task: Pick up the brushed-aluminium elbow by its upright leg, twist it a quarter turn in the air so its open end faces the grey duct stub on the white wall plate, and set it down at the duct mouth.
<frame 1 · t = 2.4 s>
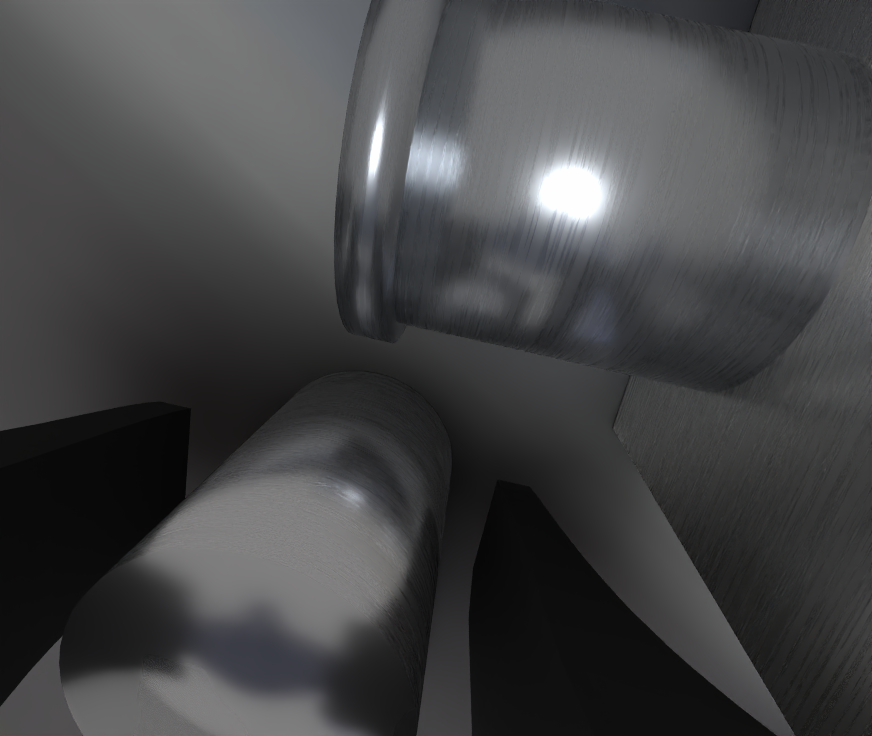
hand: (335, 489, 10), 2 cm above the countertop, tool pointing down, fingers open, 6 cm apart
elbow: (361, 457, 11), on the countertop
duct stub: (680, 231, 9), on the countertop
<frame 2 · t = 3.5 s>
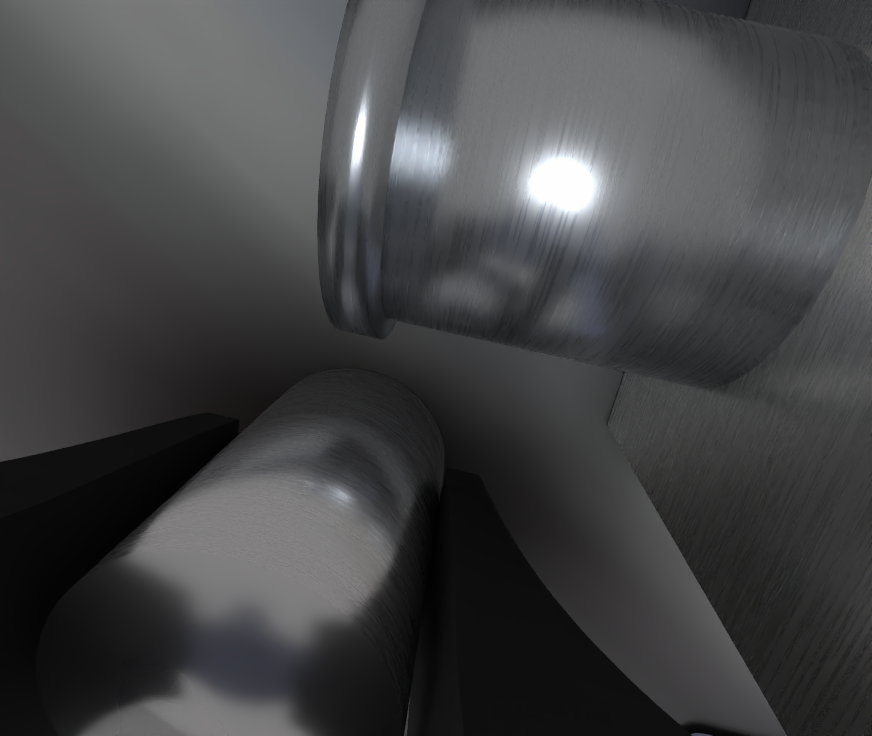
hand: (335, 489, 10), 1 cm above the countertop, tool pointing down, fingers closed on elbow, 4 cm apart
elbow: (353, 455, 11), on the countertop, touching gripper
duct stub: (674, 225, 9), on the countertop
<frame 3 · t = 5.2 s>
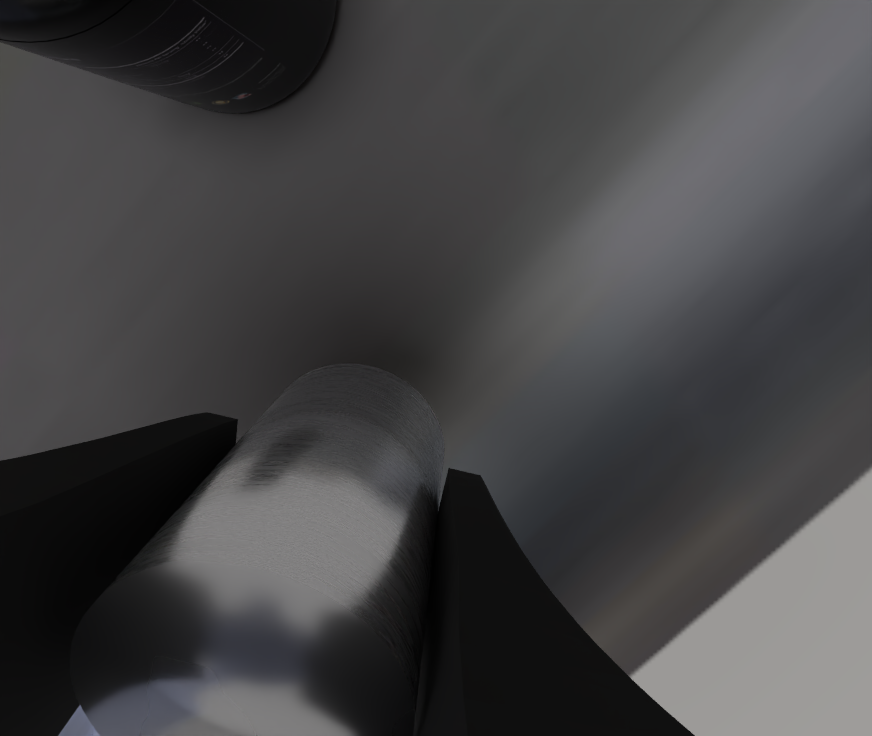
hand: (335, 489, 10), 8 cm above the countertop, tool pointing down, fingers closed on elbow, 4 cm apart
elbow: (355, 446, 11), point 7 cm above the countertop, touching gripper
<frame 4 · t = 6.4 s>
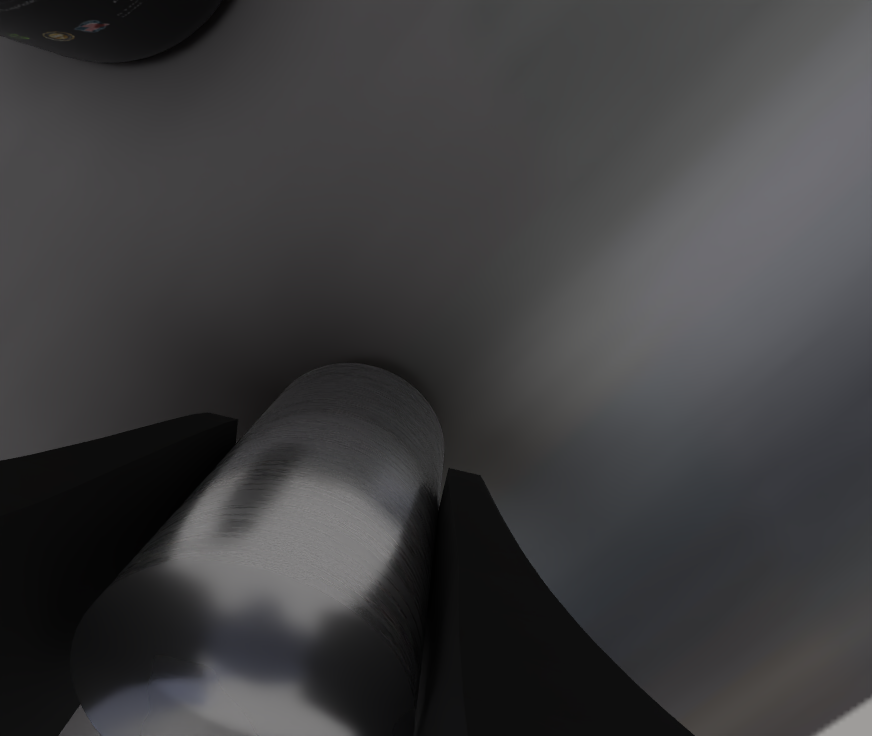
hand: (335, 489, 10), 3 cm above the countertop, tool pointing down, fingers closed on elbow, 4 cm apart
elbow: (355, 446, 11), point 1 cm above the countertop, touching gripper
when the fingers open (3 cm above the countertop, at t = 7.1 s): elbow drops 1 cm, on the countertop.
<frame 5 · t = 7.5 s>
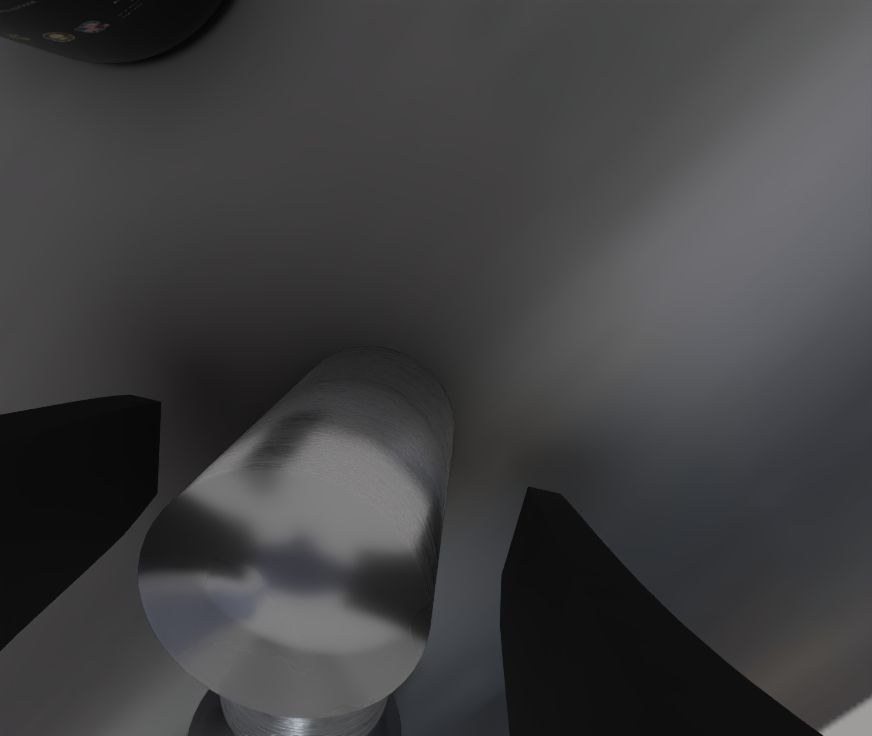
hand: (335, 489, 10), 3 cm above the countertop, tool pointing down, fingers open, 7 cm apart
elbow: (372, 425, 13), on the countertop
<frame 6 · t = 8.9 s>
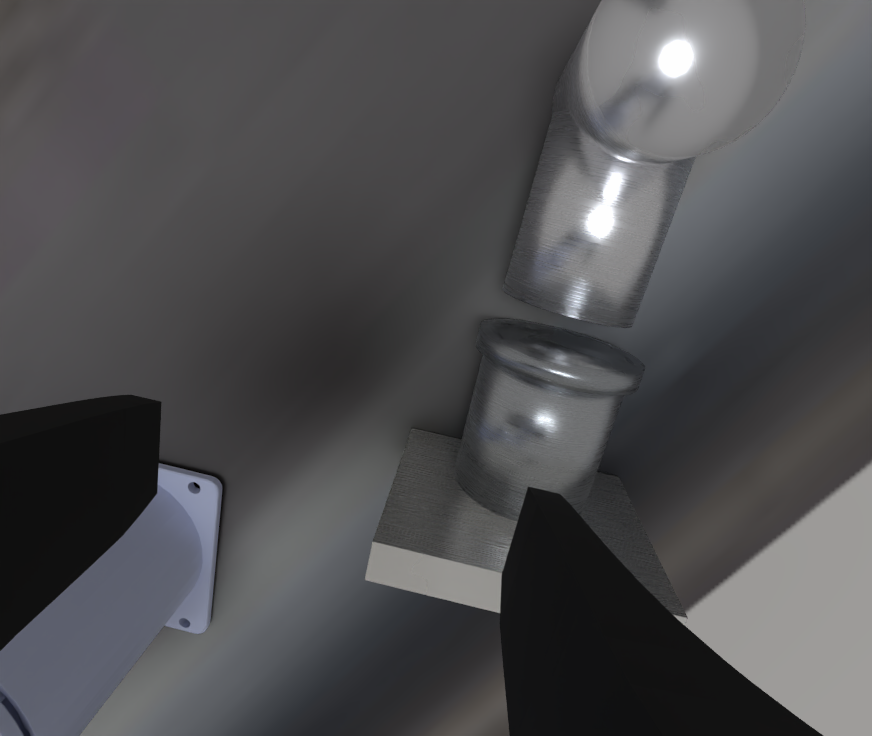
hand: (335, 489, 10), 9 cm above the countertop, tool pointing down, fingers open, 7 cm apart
elbow: (618, 105, 16), on the countertop
duct stub: (514, 452, 19), on the countertop
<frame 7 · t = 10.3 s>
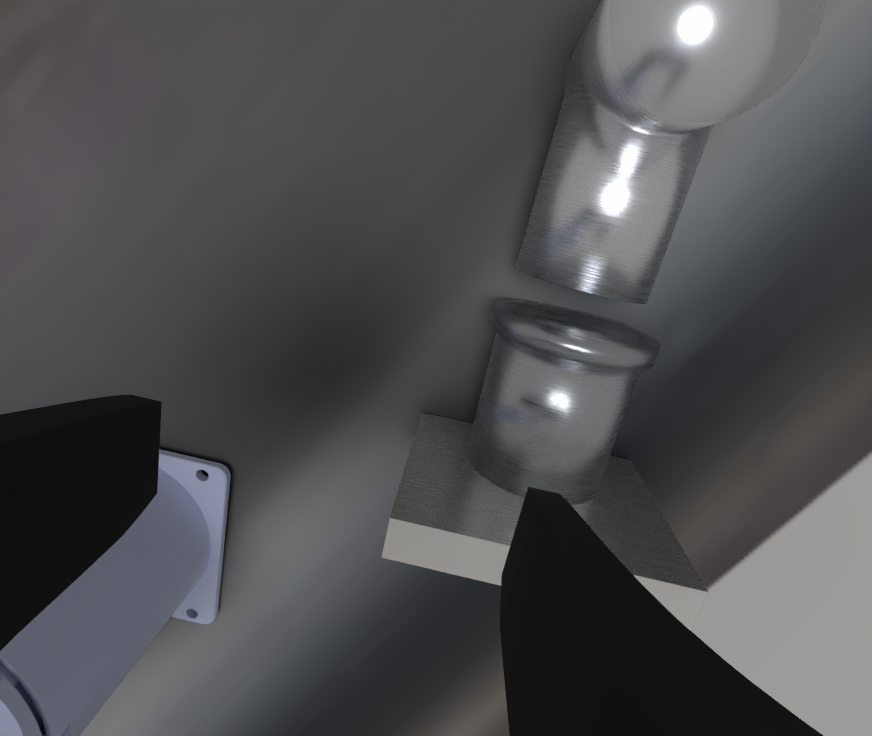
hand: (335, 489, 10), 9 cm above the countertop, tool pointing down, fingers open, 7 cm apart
elbow: (630, 83, 16), on the countertop
duct stub: (525, 435, 19), on the countertop
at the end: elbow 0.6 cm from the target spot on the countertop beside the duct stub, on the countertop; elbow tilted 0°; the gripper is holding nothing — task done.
